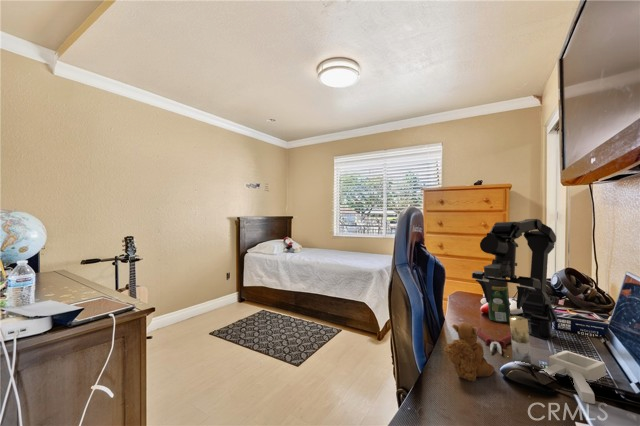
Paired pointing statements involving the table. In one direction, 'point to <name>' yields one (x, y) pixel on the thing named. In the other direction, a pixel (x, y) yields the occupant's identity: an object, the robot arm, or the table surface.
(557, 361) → the socket
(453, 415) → the table surface
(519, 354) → the coupler
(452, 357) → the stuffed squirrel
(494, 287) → the coffee jar
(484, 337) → the pliers
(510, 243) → the robot arm
